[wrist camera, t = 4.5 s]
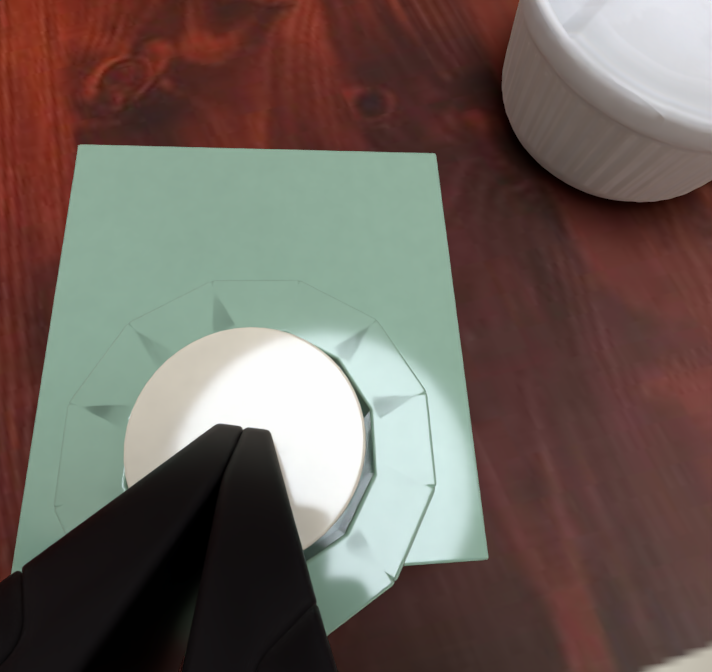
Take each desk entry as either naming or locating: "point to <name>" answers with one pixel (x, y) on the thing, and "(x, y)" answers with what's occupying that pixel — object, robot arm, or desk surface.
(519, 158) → the desk surface
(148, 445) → the cream cylindrical button
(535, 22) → the ramekin
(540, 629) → the desk surface
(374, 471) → the button base
